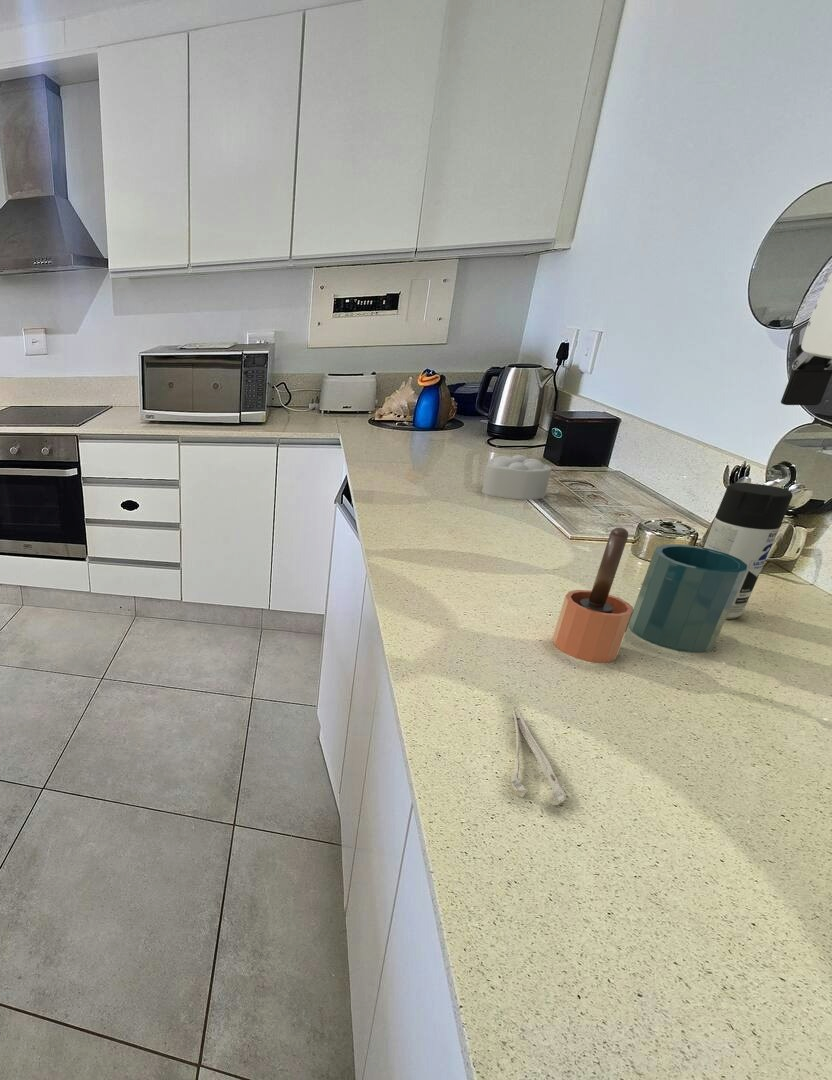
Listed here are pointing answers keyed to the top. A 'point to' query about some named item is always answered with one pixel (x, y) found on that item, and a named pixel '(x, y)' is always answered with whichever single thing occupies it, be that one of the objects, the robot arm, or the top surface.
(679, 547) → the teal faceted cup
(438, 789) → the top surface
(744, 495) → the spray can
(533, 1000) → the top surface
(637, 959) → the top surface
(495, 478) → the lumpy-topped squat cylinder
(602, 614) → the brush holder
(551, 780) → the forked grey bone
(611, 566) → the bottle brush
